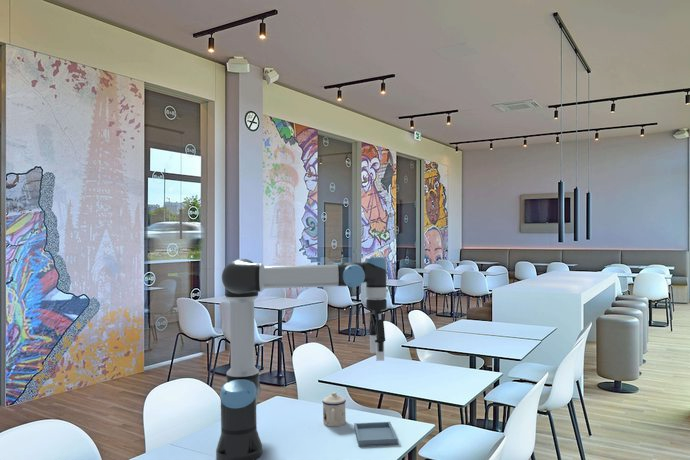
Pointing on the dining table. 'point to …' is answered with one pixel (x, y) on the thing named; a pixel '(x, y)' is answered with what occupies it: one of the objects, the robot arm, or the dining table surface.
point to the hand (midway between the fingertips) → (376, 356)
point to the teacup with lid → (334, 410)
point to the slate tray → (375, 434)
